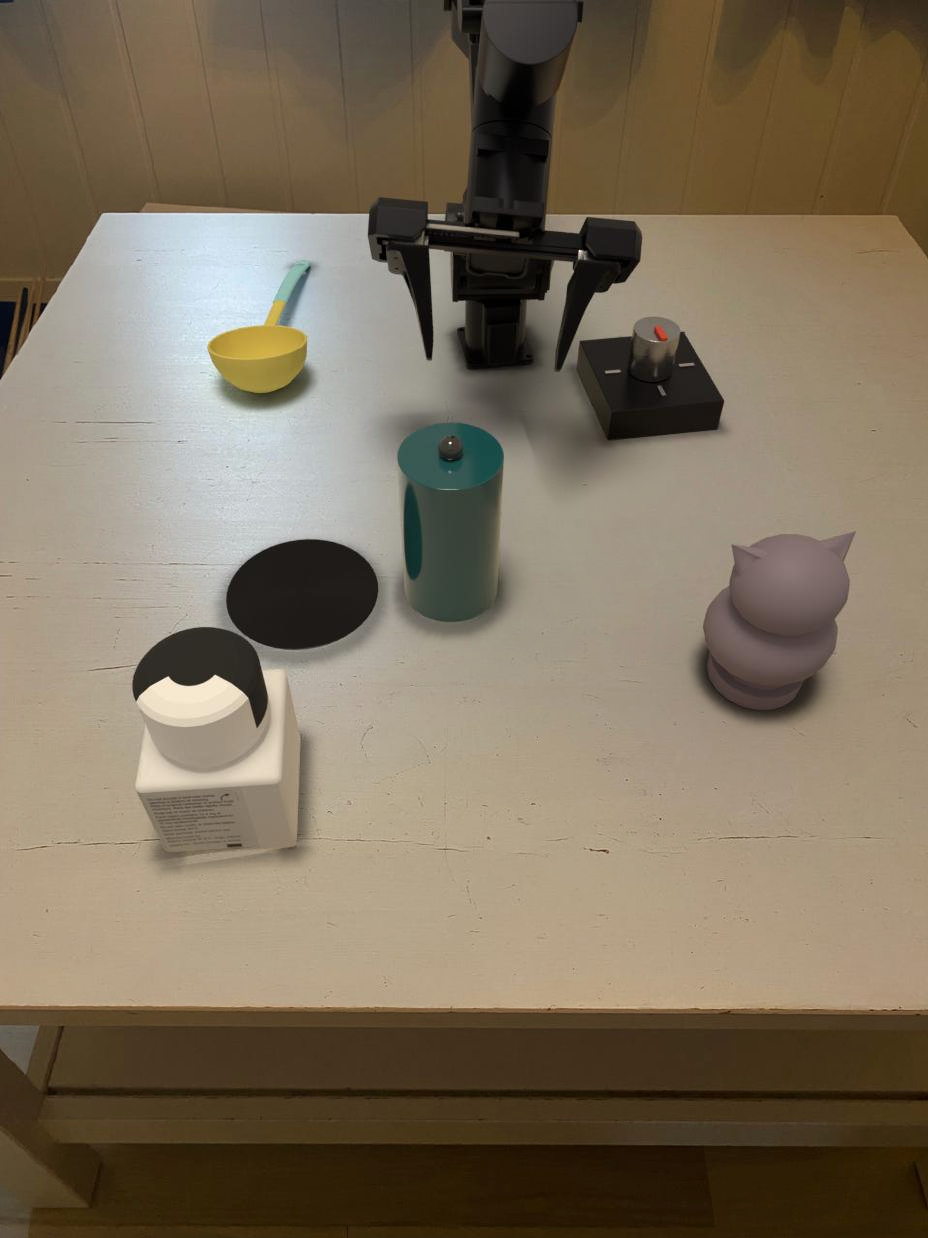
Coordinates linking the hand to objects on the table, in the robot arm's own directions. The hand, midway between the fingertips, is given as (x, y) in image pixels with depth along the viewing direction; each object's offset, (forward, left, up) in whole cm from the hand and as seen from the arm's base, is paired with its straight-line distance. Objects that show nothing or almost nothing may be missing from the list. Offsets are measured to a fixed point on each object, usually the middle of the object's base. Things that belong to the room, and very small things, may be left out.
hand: (493, 365), depth 67 cm
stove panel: (-11, +17, -13) cm, 24 cm away
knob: (-11, +17, -10) cm, 22 cm away
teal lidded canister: (+10, -5, -13) cm, 17 cm away
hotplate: (+9, -15, -13) cm, 22 cm away
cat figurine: (+21, +15, -13) cm, 28 cm away
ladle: (-27, -15, -13) cm, 34 cm away
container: (+25, -20, -13) cm, 34 cm away
